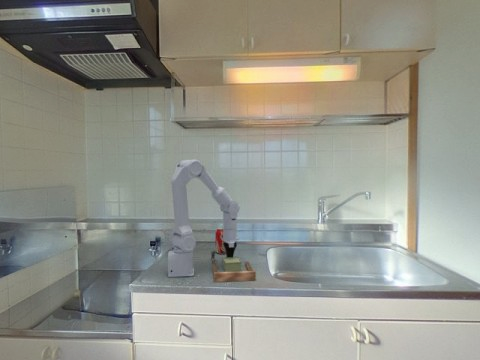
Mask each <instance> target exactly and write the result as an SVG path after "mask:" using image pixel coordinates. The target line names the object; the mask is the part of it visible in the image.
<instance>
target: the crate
mask: <svg viewBox="0 0 480 360" xmlns="http://www.w3.org/2000/svg"><path fill="white" fill-rule="evenodd" d="M222 268H223V270H224V272H236V271H242V261H241V259H240V258H238V256H233V257H227V256H226V257H222Z"/></svg>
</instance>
